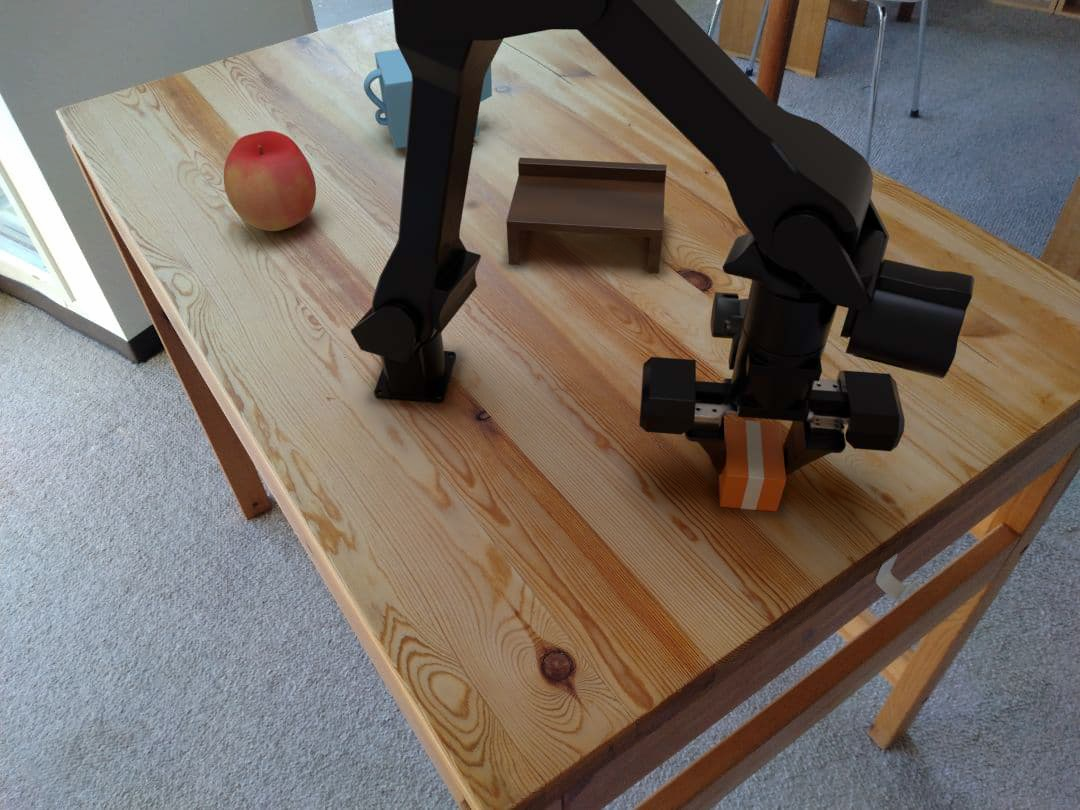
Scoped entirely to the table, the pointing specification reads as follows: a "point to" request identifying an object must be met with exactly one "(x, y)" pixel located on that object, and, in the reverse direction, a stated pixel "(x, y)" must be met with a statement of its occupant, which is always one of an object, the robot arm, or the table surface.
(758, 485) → the package
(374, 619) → the table surface
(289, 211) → the apple
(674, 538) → the table surface
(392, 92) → the teapot
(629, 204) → the shelf
